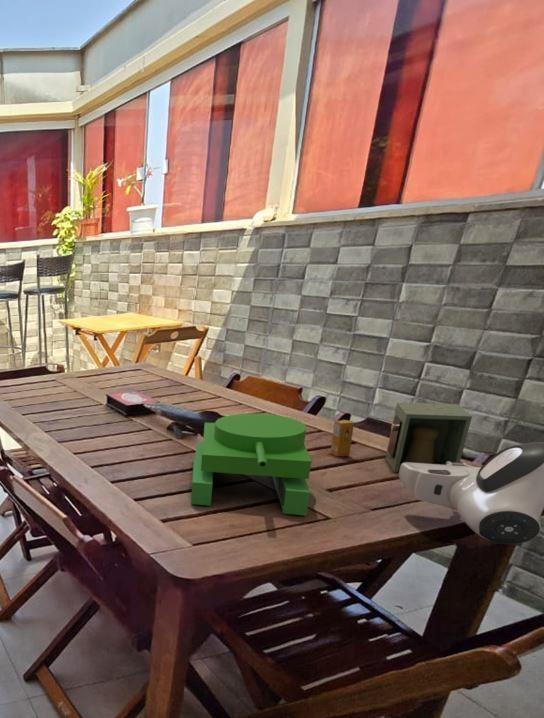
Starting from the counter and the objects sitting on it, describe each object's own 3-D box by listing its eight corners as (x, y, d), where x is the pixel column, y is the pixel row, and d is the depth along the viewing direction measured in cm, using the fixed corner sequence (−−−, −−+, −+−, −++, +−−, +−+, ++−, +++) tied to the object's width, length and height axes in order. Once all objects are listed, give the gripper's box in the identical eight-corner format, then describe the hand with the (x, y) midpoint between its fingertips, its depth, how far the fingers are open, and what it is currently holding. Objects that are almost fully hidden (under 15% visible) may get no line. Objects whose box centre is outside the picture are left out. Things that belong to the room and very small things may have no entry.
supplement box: (341, 452, 142) (347, 419, 138) (349, 456, 138) (355, 422, 135) (329, 452, 142) (334, 420, 139) (336, 457, 139) (342, 423, 136)
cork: (432, 463, 129) (441, 423, 125) (434, 471, 125) (444, 431, 121) (401, 460, 133) (409, 421, 129) (402, 468, 128) (411, 428, 125)
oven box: (443, 461, 129) (457, 403, 124) (456, 477, 121) (472, 416, 116) (380, 457, 136) (391, 402, 131) (388, 471, 127) (400, 413, 122)
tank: (187, 514, 118) (191, 452, 113) (193, 461, 147) (196, 409, 141) (310, 528, 107) (322, 460, 101) (291, 468, 135) (299, 412, 130)
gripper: (561, 482, 90) (528, 455, 101) (411, 471, 100) (396, 448, 111) (550, 513, 92) (519, 483, 103) (405, 498, 103) (391, 473, 113)
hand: (454, 465), depth 107 cm, fingers closed
